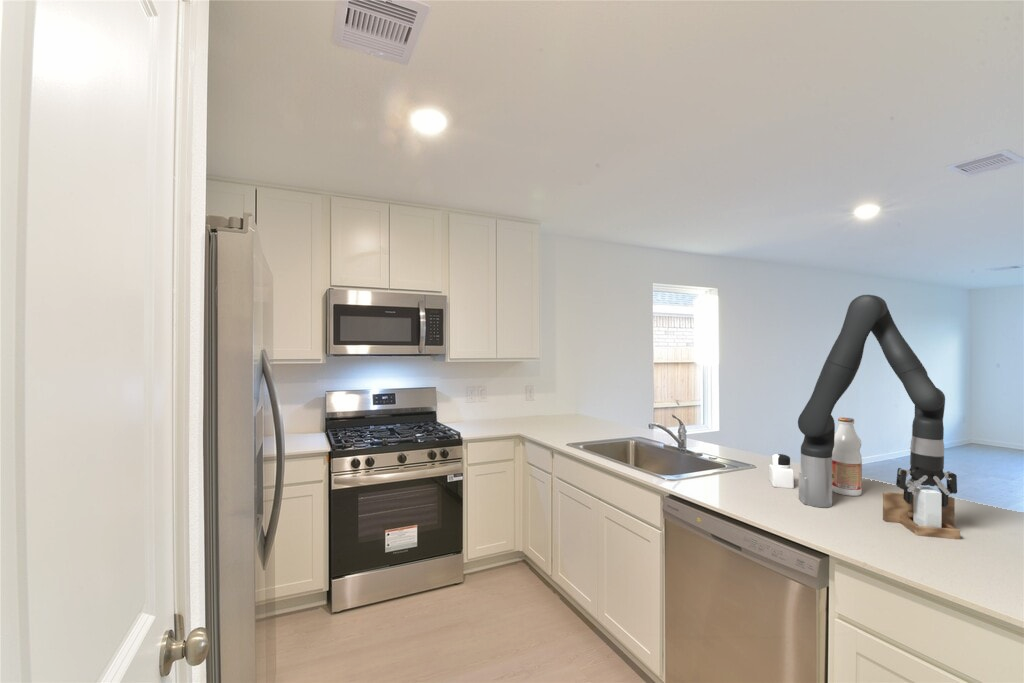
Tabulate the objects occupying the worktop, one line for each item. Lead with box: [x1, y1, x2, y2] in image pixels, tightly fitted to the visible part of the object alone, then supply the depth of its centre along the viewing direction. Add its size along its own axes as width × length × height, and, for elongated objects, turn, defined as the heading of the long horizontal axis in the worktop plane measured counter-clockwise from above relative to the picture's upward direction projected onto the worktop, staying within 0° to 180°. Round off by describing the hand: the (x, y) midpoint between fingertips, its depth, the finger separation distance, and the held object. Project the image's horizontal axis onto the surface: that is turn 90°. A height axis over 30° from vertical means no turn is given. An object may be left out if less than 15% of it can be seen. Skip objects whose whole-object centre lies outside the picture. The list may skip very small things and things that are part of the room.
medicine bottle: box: [768, 453, 795, 490], centre depth 177 cm, size 7×7×12 cm
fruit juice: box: [832, 416, 863, 497], centre depth 169 cm, size 9×9×28 cm
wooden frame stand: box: [882, 491, 961, 540], centre depth 136 cm, size 18×11×9 cm, turn 75°
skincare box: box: [913, 485, 942, 528], centre depth 136 cm, size 6×4×12 cm
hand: (925, 504), depth 137 cm, fingers open, 8 cm apart
